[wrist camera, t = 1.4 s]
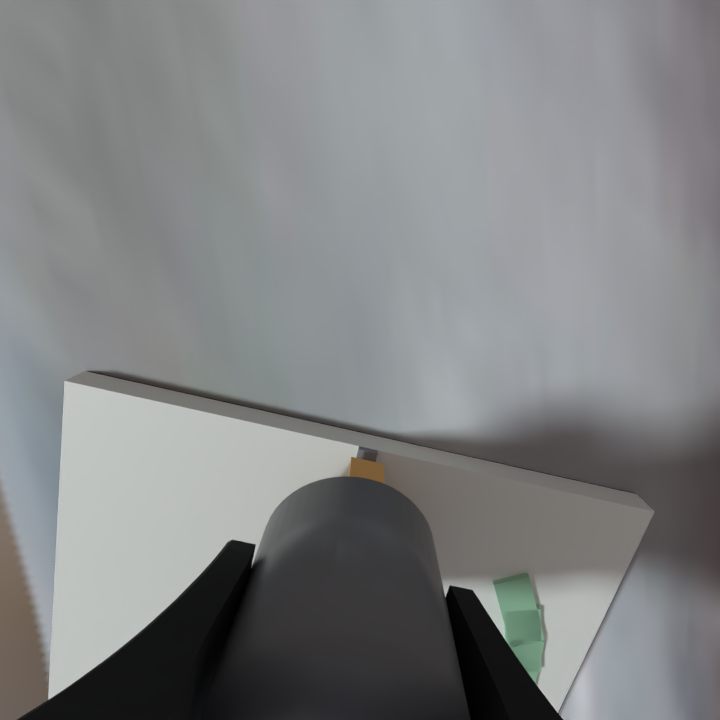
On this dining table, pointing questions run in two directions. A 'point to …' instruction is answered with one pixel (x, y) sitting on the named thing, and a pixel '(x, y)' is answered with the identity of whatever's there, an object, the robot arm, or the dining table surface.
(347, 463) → the dial plate
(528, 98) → the dining table surface
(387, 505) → the dial knob
